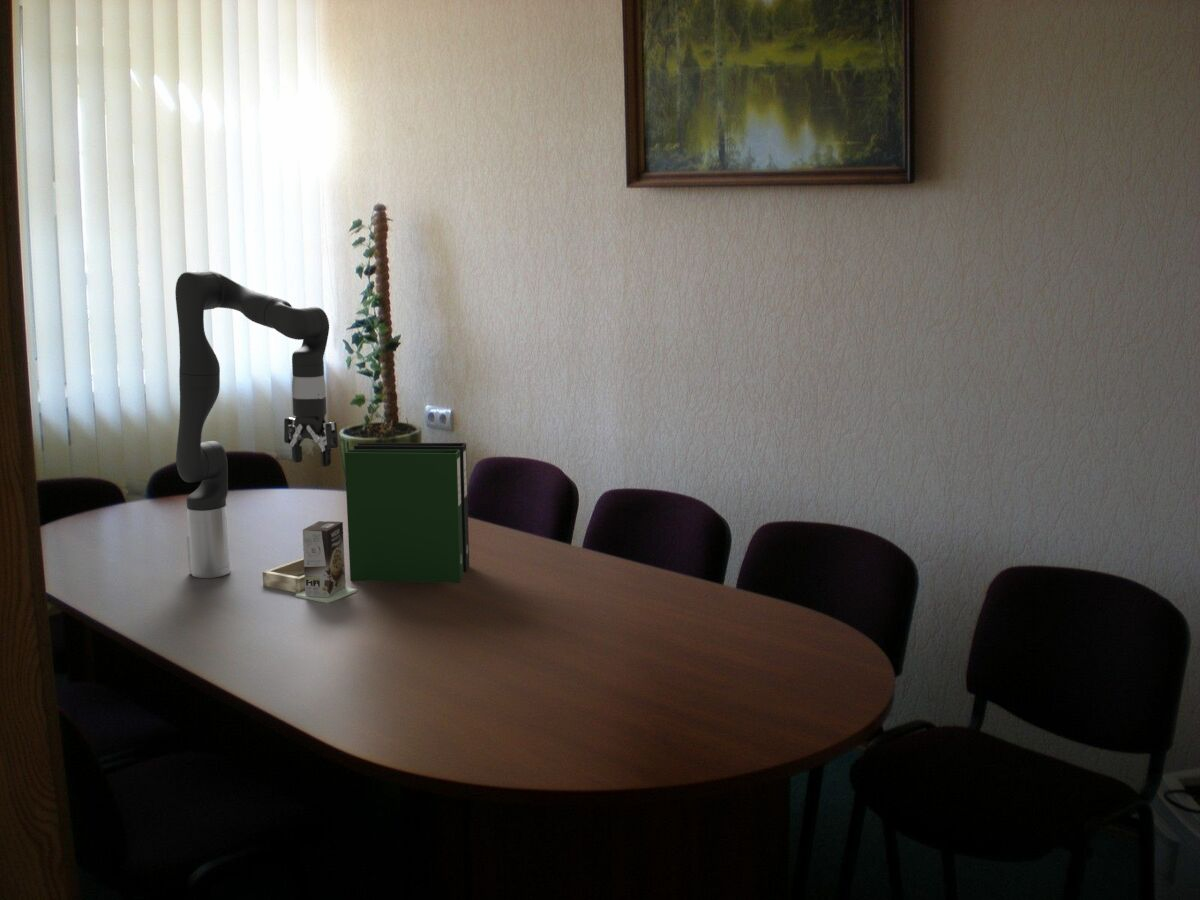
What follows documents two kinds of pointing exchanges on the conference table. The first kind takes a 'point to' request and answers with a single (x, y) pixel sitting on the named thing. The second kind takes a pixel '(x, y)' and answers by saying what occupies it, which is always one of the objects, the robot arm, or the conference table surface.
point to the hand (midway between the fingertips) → (311, 464)
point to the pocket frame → (286, 577)
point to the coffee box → (324, 559)
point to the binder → (407, 512)
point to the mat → (338, 595)
